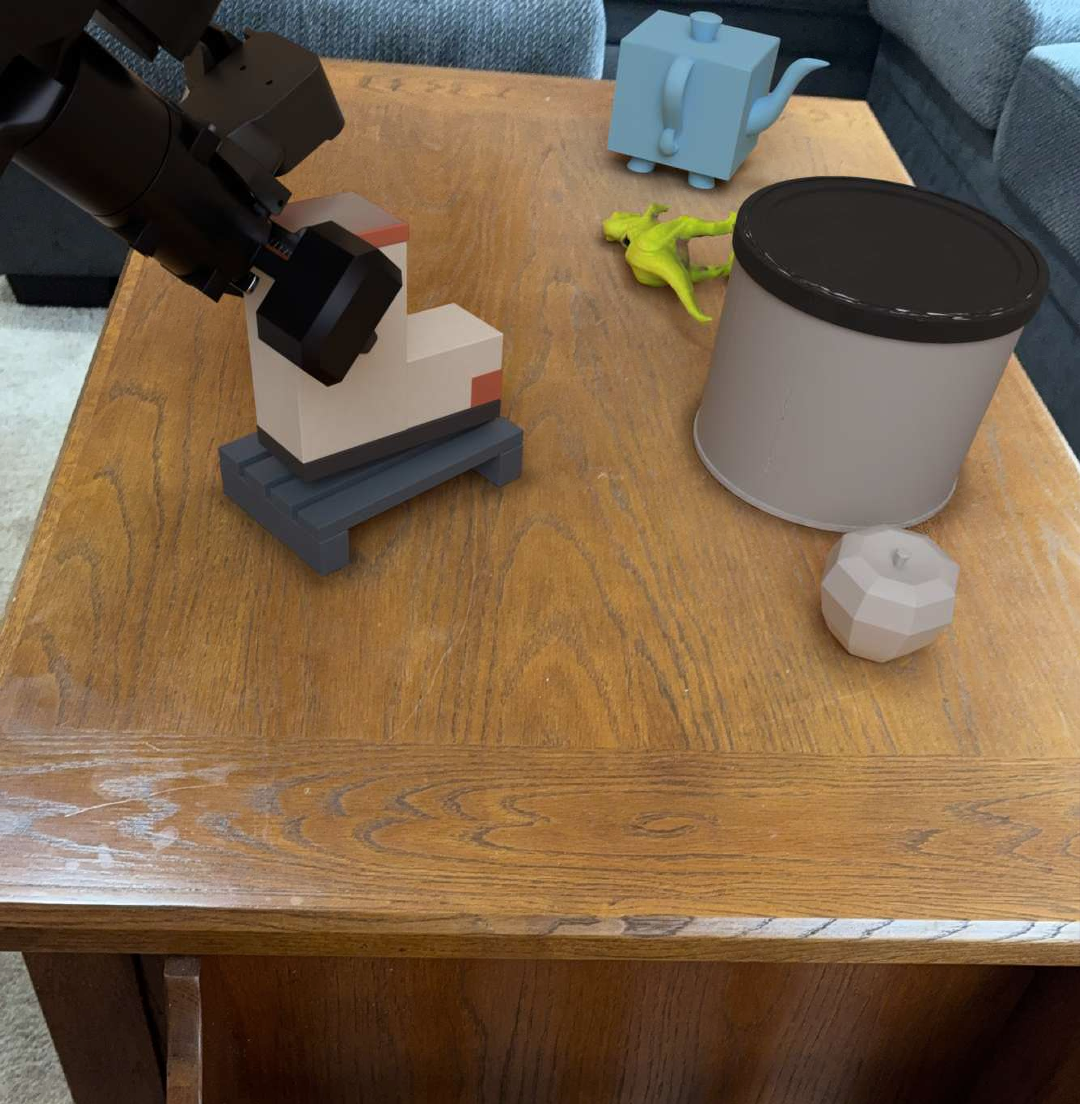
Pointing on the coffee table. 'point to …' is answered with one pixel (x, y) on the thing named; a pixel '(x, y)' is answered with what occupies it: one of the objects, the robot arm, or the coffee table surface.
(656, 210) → the dinosaur figurine
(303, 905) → the coffee table surface
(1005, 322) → the container
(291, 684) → the coffee table surface
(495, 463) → the grey shipping pallet
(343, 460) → the cream boot
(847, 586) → the apple
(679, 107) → the teapot
